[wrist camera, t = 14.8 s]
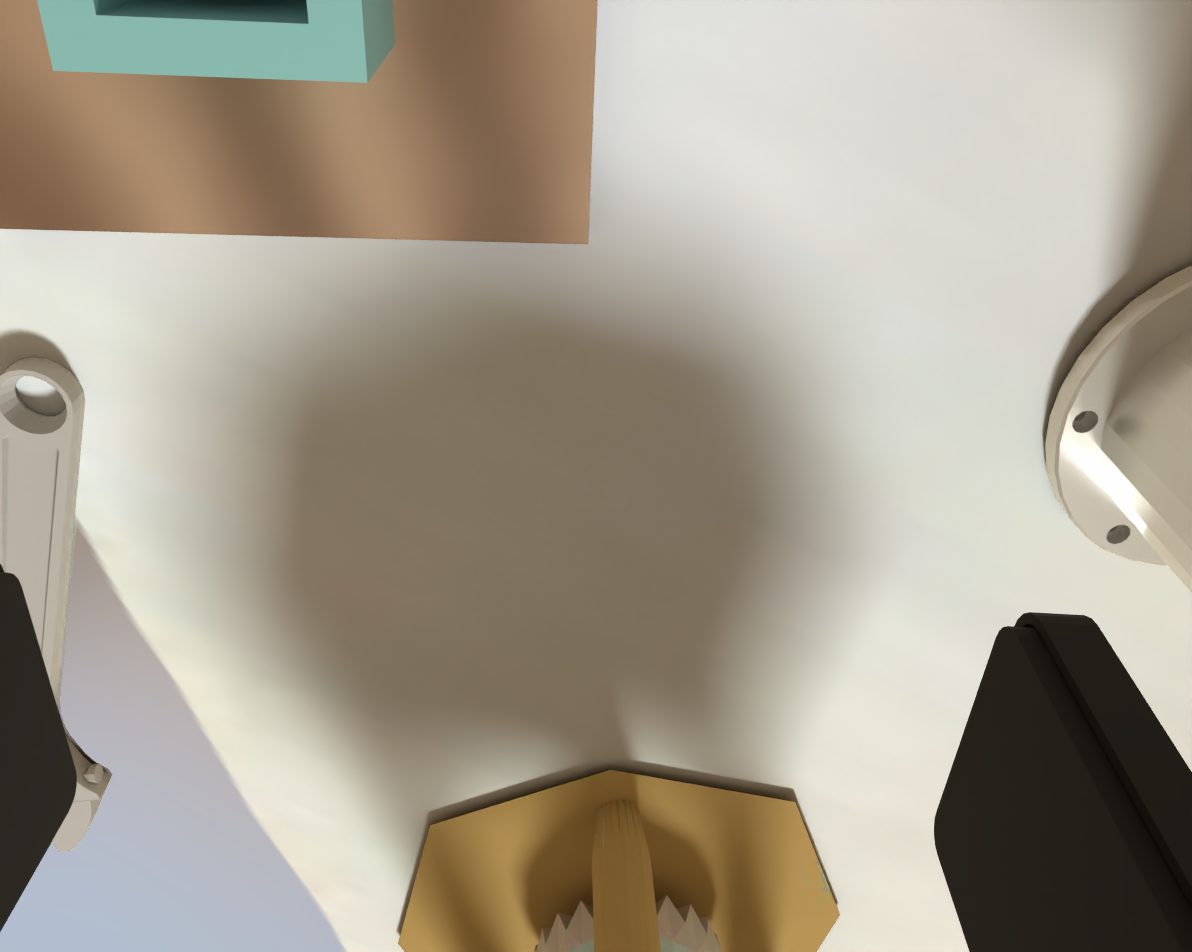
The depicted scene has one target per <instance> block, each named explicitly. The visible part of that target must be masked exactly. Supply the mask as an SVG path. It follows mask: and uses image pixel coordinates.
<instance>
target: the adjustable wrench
mask: <svg viewBox="0 0 1192 952" xmlns="http://www.w3.org/2000/svg"><path fill="white" fill-rule="evenodd" d="M23 376H33V377H36V378H39V379H41V380H44V381H46V382H47V383H49V384H50V385H52V386H53V387H54V388H55V389H56V390H57V391H58V392H59V393H60V394H61V395H62V397H63V399H64V401H65V403H66V407H65V409H64V410H63V412H62V413H60V414H59V415H57V416H46V415H42V414H39V413H36V412H34V411H32V410H31V409H29V408H28V407H26V406H25V405H24V403H23V402H22V401H21V400H20V399H19V397H18V395H17V393H16V388H15V386H16V383H17V381H18V380H19V379H20V378H21V377H23ZM84 407H85V398H84V391H83V389H82V387H81V385H80V383H79V380H78V379H77V378H76V377H75V376H74V375H73V374H72V373H71V372H70V371H69V370H68V369H66V368H65V367H64V366H62V365H61V364H59V363H57V362H54V361H52V360H49V359H46V358H38V357H29V358H23V359H20V360H18V361H17V362H15V363H13V364H11V365H10V366H9V367H8V368H7V369H6V370H5V371H4V372H3V373H2V374H1V375H0V564H1V565H2V567H3V570H4V572H6V573H11V574H14V575H15V576H16V577H17V578H18V579H19V581H20V584H21V586H22V589H23V592H24V596H25V599H26V603H27V606H28V609H29V613H30V616H31V619H32V623H33V626H34V630H35V633H36V636H37V640H38V643H39V646H40V650H41V653H42V657H43V660H44V663H45V667H46V670H47V674H48V677H49V680H50V684H51V687H52V690H53V694H54V697H55V701H56V704H57V707H58V711H59V714H60V717H61V721H62V724H63V728H64V731H65V734H66V738H67V741H68V745H69V748H70V751H71V755H72V758H73V761H74V765H75V768H76V774H77V787H76V793H75V797H74V800H73V804H72V806H71V808H70V810H69V812H68V814H67V816H66V818H65V819H64V821H63V823H62V825H61V826H60V828H59V830H58V832H57V833H56V835H55V837H54V839H53V840H52V842H53V844H54V845H55V847H56V849H57V851H58V852H61V851H69V850H70V849H72V848H73V847H75V846H76V845H77V844H78V843H79V842H80V841H81V840H82V838H83V837H84V835H85V834H86V832H87V830H88V828H89V826H90V824H91V822H92V820H93V817H94V815H95V813H96V811H97V809H98V806H99V804H100V802H101V799H102V795H103V793H104V791H105V789H106V787H107V785H108V783H109V781H110V778H111V776H112V773H111V772H110V770H109V769H108V768H106V767H104V766H102V765H100V764H98V763H96V762H95V761H94V760H93V759H91V758H90V757H89V756H88V755H87V754H86V753H85V752H84V751H83V750H82V749H81V748H80V746H79V745H78V744H77V743H76V741H75V740H74V739H73V738H72V736H70V734H69V732H68V730H67V729H66V727H65V725H64V722H63V718H62V715H61V707H60V696H61V686H62V674H63V665H64V654H65V644H66V633H67V623H68V613H69V602H70V592H71V581H72V572H73V561H74V551H75V541H76V530H77V518H76V516H75V507H76V496H77V485H78V474H79V462H80V451H81V440H82V429H83V418H84Z"/></svg>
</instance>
